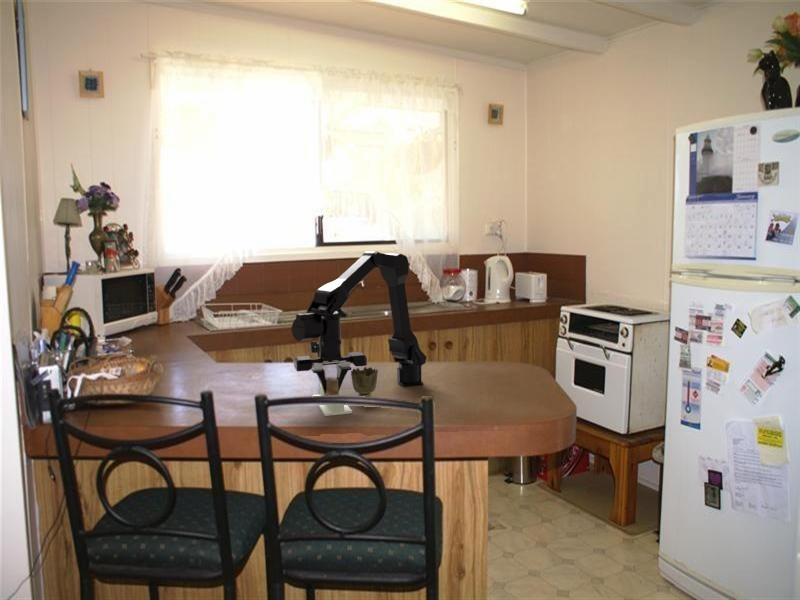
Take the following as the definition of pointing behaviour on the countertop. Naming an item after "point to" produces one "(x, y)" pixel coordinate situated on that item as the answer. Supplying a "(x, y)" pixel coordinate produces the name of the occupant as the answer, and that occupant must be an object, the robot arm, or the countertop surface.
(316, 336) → the robot arm
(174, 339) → the countertop surface
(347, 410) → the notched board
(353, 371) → the cup
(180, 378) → the countertop surface
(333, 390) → the brown rectangular block
